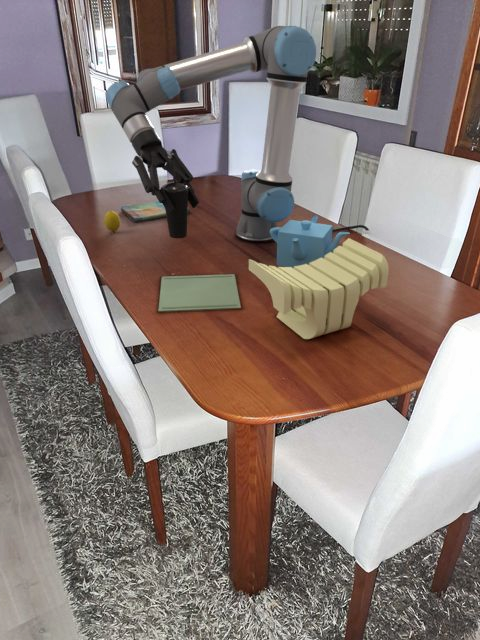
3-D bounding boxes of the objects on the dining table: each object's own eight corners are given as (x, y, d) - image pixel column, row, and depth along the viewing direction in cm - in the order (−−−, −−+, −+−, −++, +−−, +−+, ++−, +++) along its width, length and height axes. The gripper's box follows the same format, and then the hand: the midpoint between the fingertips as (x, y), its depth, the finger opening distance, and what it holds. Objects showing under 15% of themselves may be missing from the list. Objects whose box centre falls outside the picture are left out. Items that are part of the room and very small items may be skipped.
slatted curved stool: (281, 353, 122) (285, 284, 112) (248, 324, 134) (248, 258, 124) (380, 323, 134) (390, 258, 125) (341, 299, 146) (348, 238, 137)
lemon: (117, 235, 189) (115, 213, 184) (103, 234, 189) (100, 212, 185) (123, 230, 193) (121, 208, 189) (109, 229, 194) (106, 207, 190)
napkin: (234, 275, 159) (234, 273, 159) (240, 308, 141) (240, 307, 141) (161, 277, 158) (161, 276, 157) (158, 312, 139) (158, 310, 139)
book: (190, 213, 210) (190, 207, 209) (135, 223, 200) (134, 216, 198) (173, 202, 222) (173, 196, 221) (120, 211, 212) (119, 205, 211)
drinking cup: (159, 238, 147) (153, 164, 136) (173, 229, 153) (167, 158, 142) (183, 242, 144) (179, 167, 134) (196, 233, 150) (192, 160, 140)
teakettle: (264, 261, 169) (265, 216, 161) (315, 252, 175) (318, 209, 168) (292, 284, 154) (294, 236, 147) (346, 273, 161) (351, 227, 153)
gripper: (167, 140, 152) (206, 207, 151) (106, 151, 140) (148, 224, 139) (178, 123, 146) (218, 193, 145) (115, 132, 134) (158, 209, 133)
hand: (184, 208), depth 142 cm, fingers closed on drinking cup, 8 cm apart
